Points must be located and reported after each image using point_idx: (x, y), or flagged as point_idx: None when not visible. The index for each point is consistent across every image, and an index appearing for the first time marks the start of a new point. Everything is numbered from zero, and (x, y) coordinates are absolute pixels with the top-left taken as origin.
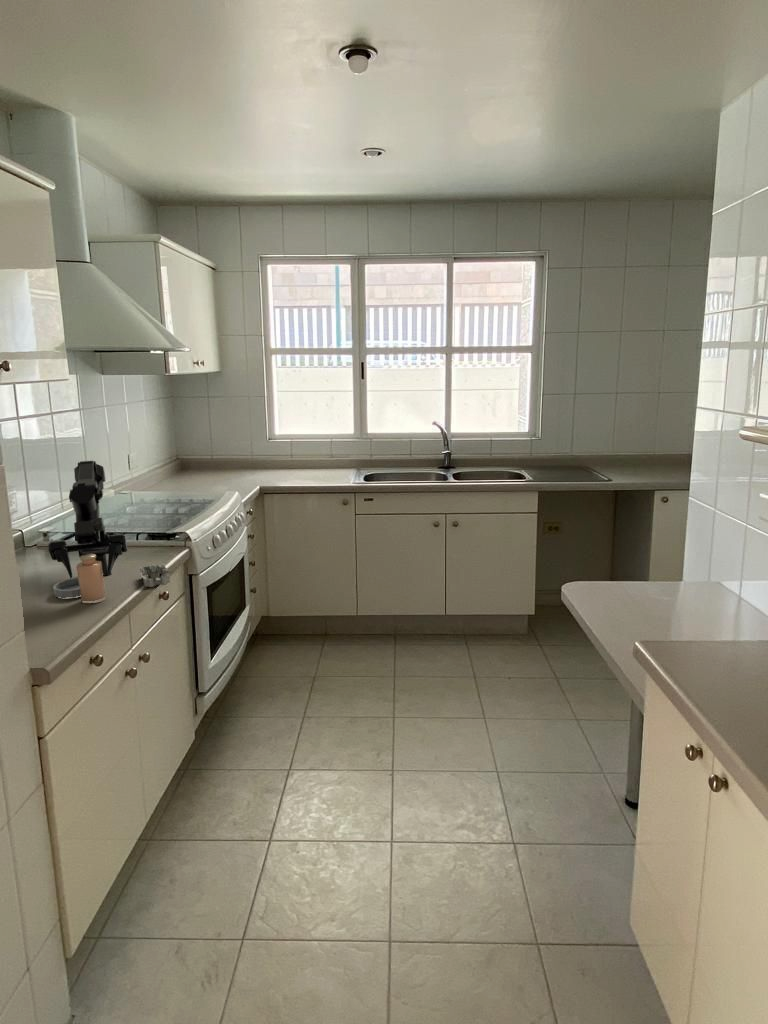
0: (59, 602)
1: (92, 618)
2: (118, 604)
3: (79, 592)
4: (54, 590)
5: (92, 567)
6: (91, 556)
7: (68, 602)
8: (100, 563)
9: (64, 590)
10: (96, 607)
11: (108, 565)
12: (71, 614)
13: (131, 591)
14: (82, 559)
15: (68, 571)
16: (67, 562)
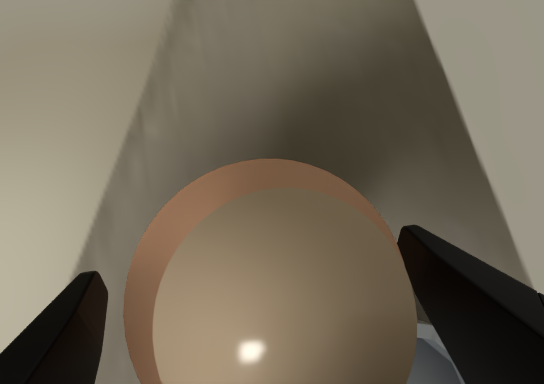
0: None
1: (215, 36)
2: (118, 171)
3: None
4: None
5: (213, 173)
6: (221, 267)
7: None
8: (131, 279)
9: (422, 326)
10: (220, 161)
11: (63, 317)
12: (314, 107)
13: None
14: (348, 213)
15: (450, 246)
16: (536, 312)
